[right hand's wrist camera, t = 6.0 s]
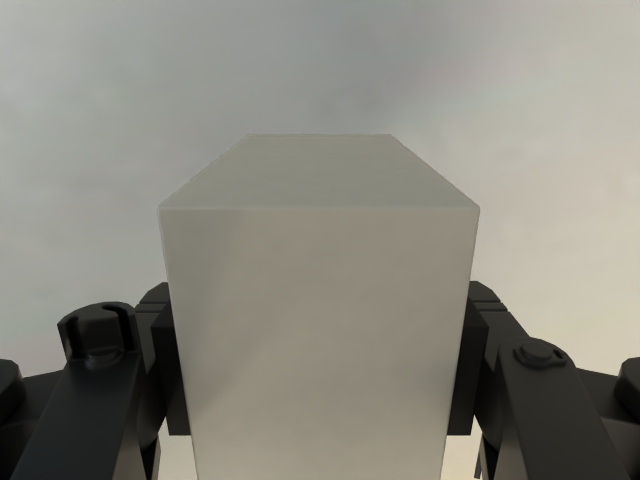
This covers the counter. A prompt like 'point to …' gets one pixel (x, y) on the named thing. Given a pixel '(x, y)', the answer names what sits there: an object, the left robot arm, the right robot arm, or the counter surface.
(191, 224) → the block
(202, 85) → the counter surface
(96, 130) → the counter surface
